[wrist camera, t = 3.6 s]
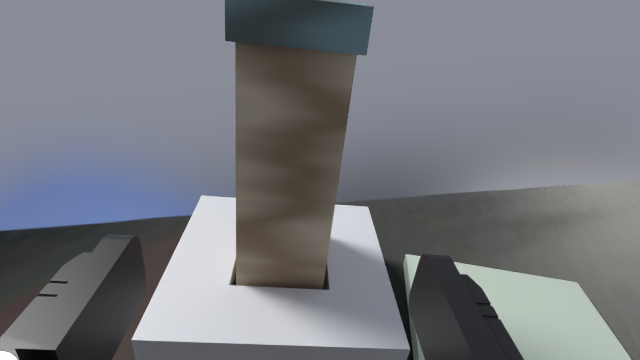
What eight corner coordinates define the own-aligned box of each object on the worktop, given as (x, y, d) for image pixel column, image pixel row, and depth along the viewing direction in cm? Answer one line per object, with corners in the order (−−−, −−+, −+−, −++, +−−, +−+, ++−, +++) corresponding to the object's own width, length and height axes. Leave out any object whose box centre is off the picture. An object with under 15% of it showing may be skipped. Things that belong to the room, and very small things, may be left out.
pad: (422, 439, 16) (427, 426, 16) (403, 264, 27) (406, 254, 27) (705, 496, 16) (720, 484, 15) (571, 293, 26) (577, 282, 26)
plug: (229, 340, 20) (224, -11, 12) (243, 276, 24) (245, -11, 16) (321, 343, 20) (373, 6, 12) (317, 280, 25) (355, 1, 17)
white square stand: (143, 399, 17) (131, 339, 15) (204, 242, 27) (201, 195, 25) (392, 404, 18) (410, 349, 16) (359, 251, 28) (367, 206, 26)
